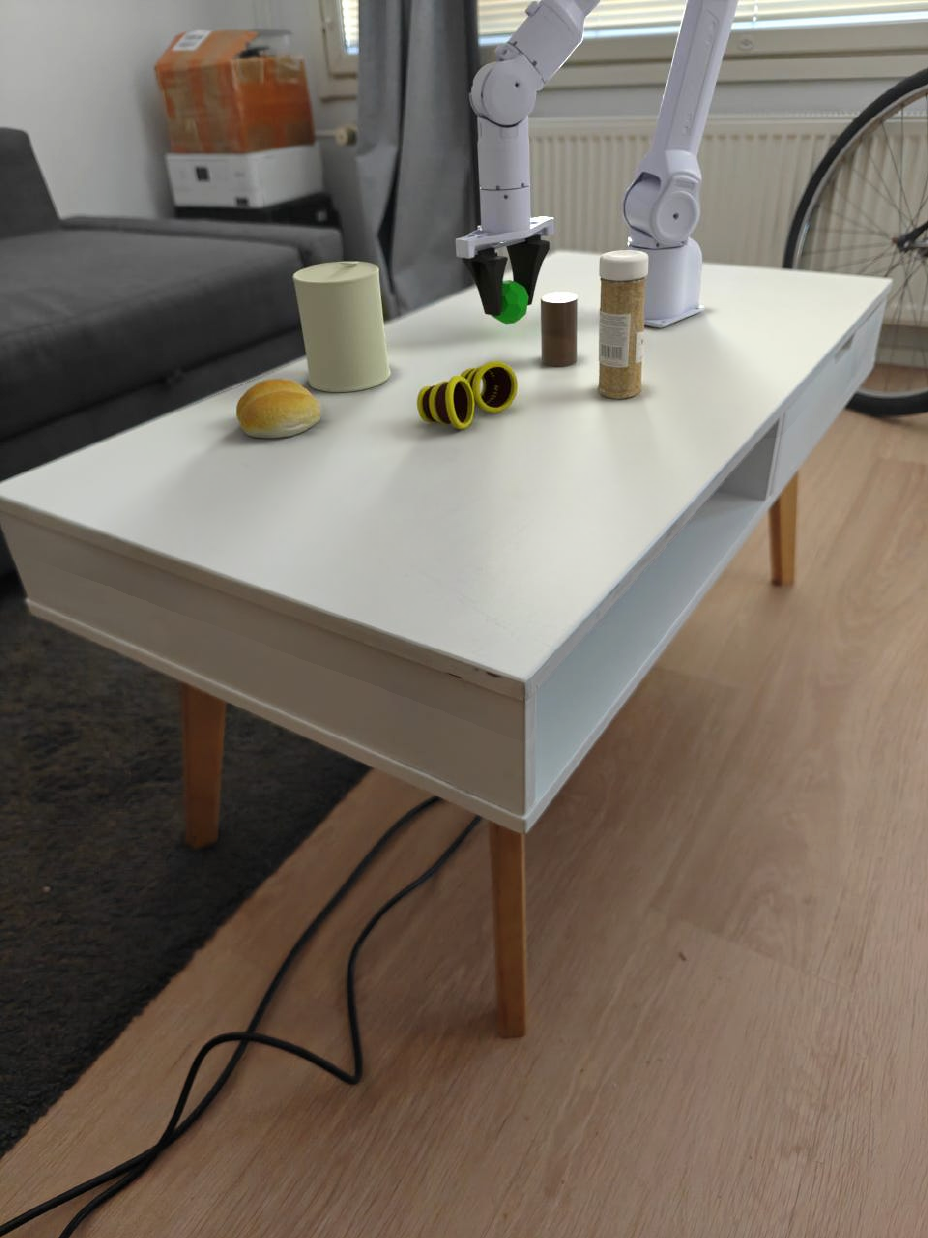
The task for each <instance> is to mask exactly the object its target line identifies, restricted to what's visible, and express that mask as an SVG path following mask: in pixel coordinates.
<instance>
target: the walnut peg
mask: <svg viewBox="0 0 928 1238" xmlns="http://www.w3.org/2000/svg"><path fill="white" fill-rule="evenodd" d="M578 302H579V297H578V295H577V294H575V293H572V292H571V293H570V292H551V293H548V294H545V295H542V296H541V297H540V335H541V337H540V340H541V341H540V342H541V344H540V345H541V363H542V364H543V365H544V366H548V367H554V368H561V367H569V366H572V365H575V364H576V363H577V362H578V320H579V319H578V318H579V317H578V314H579V313H578V311H579V307H578V306H579V305H578V304H579V303H578Z"/></svg>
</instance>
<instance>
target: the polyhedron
mask: <svg viewBox="0 0 928 1238" xmlns="http://www.w3.org/2000/svg"><path fill="white" fill-rule="evenodd" d="M528 298H529V297H528V295H527V292H526V290H525V288H524V287H523V286H521V285H520V284H518V283H516V282H514V281H513V280H511V279H508V280H503V284H502V309H501V315H499V316H492V315H490V316H491V317H492V318H493V319H495V320H496V321H498V322H499V323H502V324H504V325H512V324H514V325H515V324H516V323H518V322H519V321H520V320H522V319H523V317H524V316H526V314H527V310H528V305H527V304H528Z"/></svg>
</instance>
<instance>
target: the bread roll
mask: <svg viewBox="0 0 928 1238" xmlns="http://www.w3.org/2000/svg"><path fill="white" fill-rule="evenodd" d="M235 407H236V408H235V415H236V418H237V420H238V421H239V425H240V428H241V430H242V432H244V433H245V434H246V435H248V436H249V437H251V438H256V439H282V438H289V437H293V436H296V435H299V434H301V433H304V432H306V431H307V430H309V429H311V428H312V427H314V426H315V425H316V424H318V422H319V421H320V419H321V416H322V406H321V403H320V402H319V401H318V400H317V399H316V397H315V396H314V395H313V394H312V393H311V392H310V391H309V390H308V389H307V388H306V387H304V386H303V385H301V384H300V383H298V382H295V381H293V380H288V379H284V378H283V379H282V378H280V379H279V378H275V379H268V380H262V381H260V382H258V383H255V384H254V385H252V386H250V387H249V388H248V389H247V390H246V391H245V392H244V393H243V394H242V396H240V398H239V399H238V401H237V403H236V406H235Z"/></svg>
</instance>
